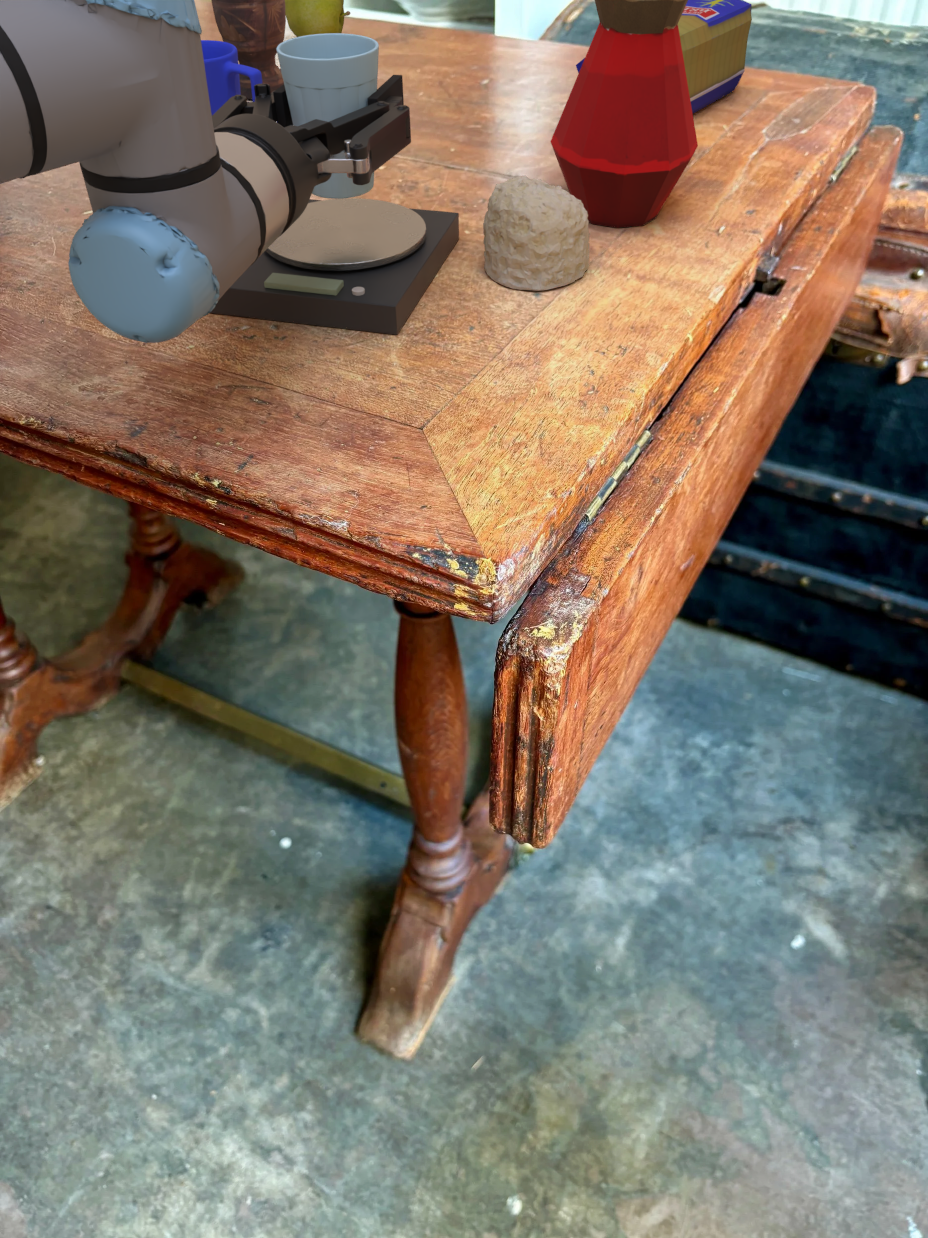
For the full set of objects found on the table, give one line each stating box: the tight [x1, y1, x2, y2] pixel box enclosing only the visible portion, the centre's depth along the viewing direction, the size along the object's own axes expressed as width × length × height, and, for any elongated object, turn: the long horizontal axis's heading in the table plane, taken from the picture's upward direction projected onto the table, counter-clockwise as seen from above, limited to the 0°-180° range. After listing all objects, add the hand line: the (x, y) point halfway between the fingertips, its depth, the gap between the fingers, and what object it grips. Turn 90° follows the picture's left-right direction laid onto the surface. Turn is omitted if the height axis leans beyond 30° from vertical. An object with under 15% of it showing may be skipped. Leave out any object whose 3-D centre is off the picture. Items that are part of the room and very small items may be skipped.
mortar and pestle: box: [211, 0, 287, 100], centre depth 116 cm, size 12×9×20 cm
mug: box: [201, 39, 262, 115], centre depth 104 cm, size 8×12×10 cm
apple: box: [285, 0, 351, 37], centre depth 137 cm, size 8×9×8 cm
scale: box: [209, 198, 460, 336], centre depth 85 cm, size 16×19×3 cm
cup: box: [276, 32, 380, 199], centre depth 79 cm, size 8×8×10 cm
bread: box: [575, 0, 753, 114], centre depth 114 cm, size 10×25×10 cm, turn 143°
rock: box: [482, 174, 591, 292], centre depth 84 cm, size 9×10×10 cm
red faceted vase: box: [550, 0, 699, 229], centre depth 89 cm, size 16×14×20 cm
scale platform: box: [265, 197, 426, 271], centre depth 85 cm, size 14×14×1 cm
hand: (353, 90), depth 81 cm, fingers closed on cup, 7 cm apart
